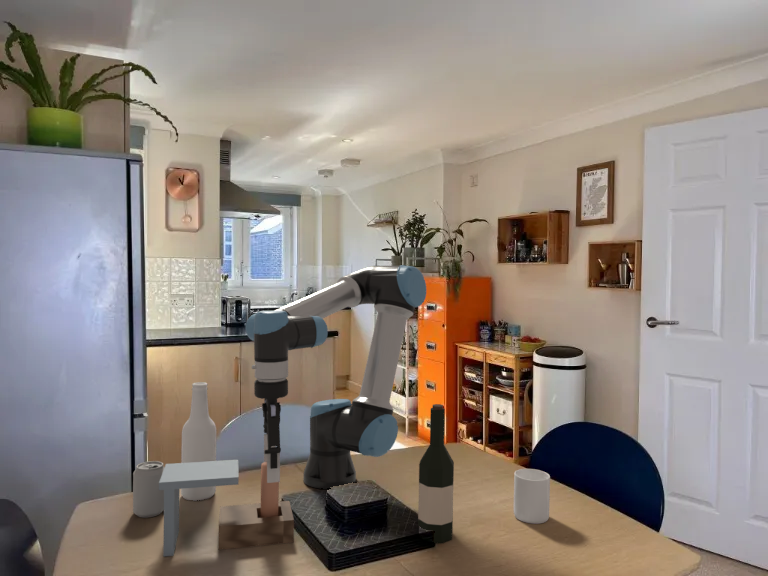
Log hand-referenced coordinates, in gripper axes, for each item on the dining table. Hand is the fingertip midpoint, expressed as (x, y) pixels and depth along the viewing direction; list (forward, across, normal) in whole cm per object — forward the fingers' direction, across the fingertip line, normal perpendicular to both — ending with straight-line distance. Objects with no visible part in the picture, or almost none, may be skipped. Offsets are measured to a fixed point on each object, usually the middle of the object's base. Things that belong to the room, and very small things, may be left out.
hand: (271, 471), depth 130 cm
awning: (+14, 0, -16) cm, 21 cm away
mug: (+16, +4, +63) cm, 65 cm away
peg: (+14, 0, -1) cm, 14 cm away
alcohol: (+14, -26, -18) cm, 35 cm away
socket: (+14, 0, -4) cm, 15 cm away
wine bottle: (+15, +10, +36) cm, 40 cm away
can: (+14, -18, -29) cm, 36 cm away
